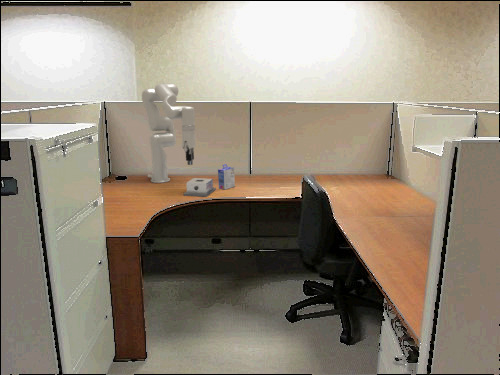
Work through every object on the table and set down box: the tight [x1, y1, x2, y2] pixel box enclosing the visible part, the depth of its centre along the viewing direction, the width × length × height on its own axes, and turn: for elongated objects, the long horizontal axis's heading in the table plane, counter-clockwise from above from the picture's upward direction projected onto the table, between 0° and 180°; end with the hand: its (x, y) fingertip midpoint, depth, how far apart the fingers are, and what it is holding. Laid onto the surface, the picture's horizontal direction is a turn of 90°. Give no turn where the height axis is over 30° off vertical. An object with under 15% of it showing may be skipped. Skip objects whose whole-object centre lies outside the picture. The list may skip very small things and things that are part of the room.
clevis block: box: [183, 177, 217, 198], centre depth 260 cm, size 14×18×7 cm
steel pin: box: [186, 148, 194, 166], centre depth 256 cm, size 3×3×10 cm
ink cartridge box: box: [217, 163, 236, 190], centre depth 271 cm, size 10×6×14 cm, turn 141°
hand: (190, 159), depth 256 cm, fingers closed on steel pin, 3 cm apart
